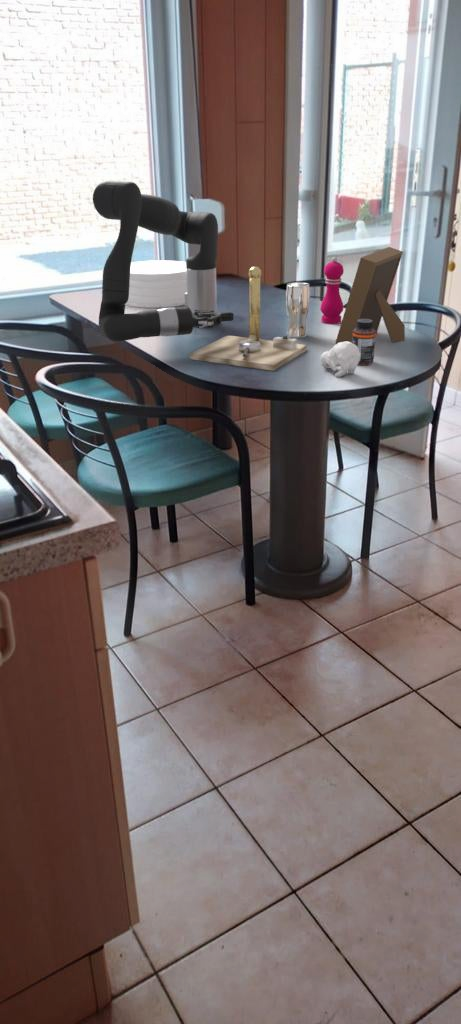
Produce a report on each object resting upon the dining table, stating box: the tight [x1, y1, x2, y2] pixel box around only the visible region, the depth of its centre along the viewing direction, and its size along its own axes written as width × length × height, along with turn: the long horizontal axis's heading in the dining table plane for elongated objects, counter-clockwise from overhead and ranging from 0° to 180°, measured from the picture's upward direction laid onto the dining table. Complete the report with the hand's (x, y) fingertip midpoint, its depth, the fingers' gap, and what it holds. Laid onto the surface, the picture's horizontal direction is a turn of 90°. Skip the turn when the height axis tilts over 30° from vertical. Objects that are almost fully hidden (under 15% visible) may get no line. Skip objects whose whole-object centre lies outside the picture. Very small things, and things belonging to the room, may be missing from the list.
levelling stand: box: [189, 335, 308, 372], centre depth 213 cm, size 25×22×5 cm
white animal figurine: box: [319, 341, 361, 378], centre depth 197 cm, size 6×8×12 cm
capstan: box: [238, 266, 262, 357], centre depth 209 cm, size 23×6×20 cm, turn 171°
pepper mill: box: [320, 256, 344, 325], centre depth 243 cm, size 7×7×20 cm
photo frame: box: [335, 246, 406, 345], centre depth 220 cm, size 15×22×25 cm
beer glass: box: [285, 281, 311, 339], centre depth 229 cm, size 7×7×15 cm
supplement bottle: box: [352, 319, 377, 366], centre depth 204 cm, size 6×6×11 cm
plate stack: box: [125, 260, 187, 309], centre depth 279 cm, size 28×28×12 cm
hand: (232, 316), depth 217 cm, fingers closed
